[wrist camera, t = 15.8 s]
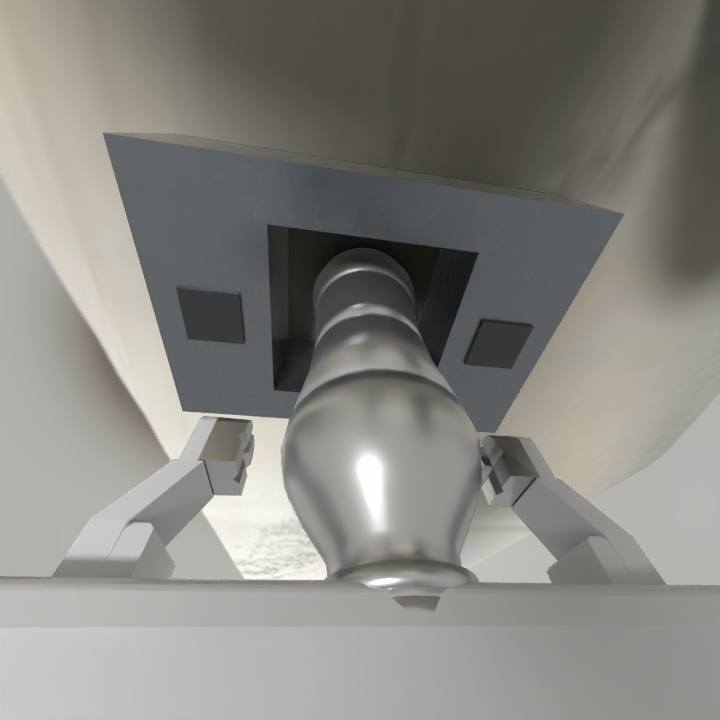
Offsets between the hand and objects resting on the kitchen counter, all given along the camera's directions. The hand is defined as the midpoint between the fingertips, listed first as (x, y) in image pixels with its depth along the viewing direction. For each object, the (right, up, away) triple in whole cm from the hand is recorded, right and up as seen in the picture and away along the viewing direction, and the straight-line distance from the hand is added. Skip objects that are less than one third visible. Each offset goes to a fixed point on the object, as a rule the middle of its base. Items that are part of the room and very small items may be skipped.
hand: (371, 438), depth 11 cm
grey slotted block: (0, +8, +11) cm, 14 cm away
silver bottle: (0, +8, +11) cm, 14 cm away
